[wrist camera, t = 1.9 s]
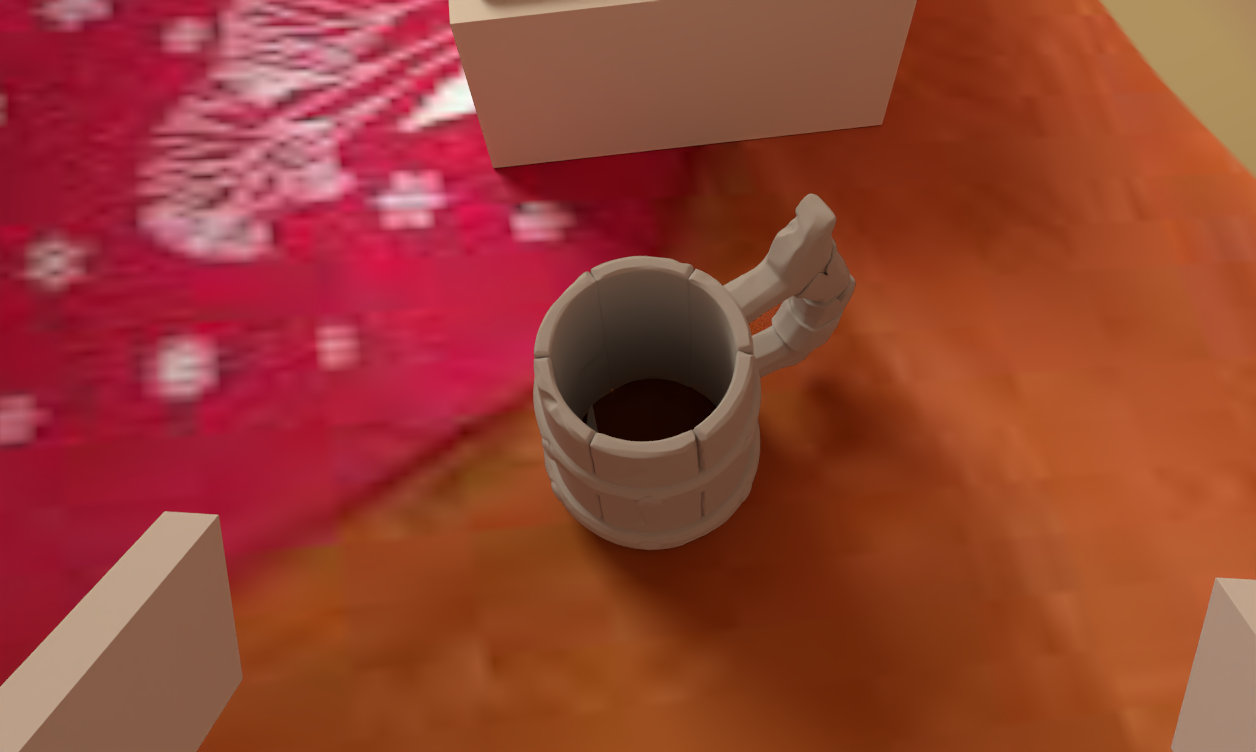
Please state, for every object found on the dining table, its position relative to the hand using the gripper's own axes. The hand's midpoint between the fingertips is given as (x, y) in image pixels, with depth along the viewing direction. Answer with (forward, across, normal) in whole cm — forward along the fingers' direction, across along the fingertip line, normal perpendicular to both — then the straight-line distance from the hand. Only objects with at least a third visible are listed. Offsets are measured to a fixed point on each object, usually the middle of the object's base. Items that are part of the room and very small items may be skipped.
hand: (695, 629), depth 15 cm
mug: (+25, 0, -9) cm, 27 cm away
